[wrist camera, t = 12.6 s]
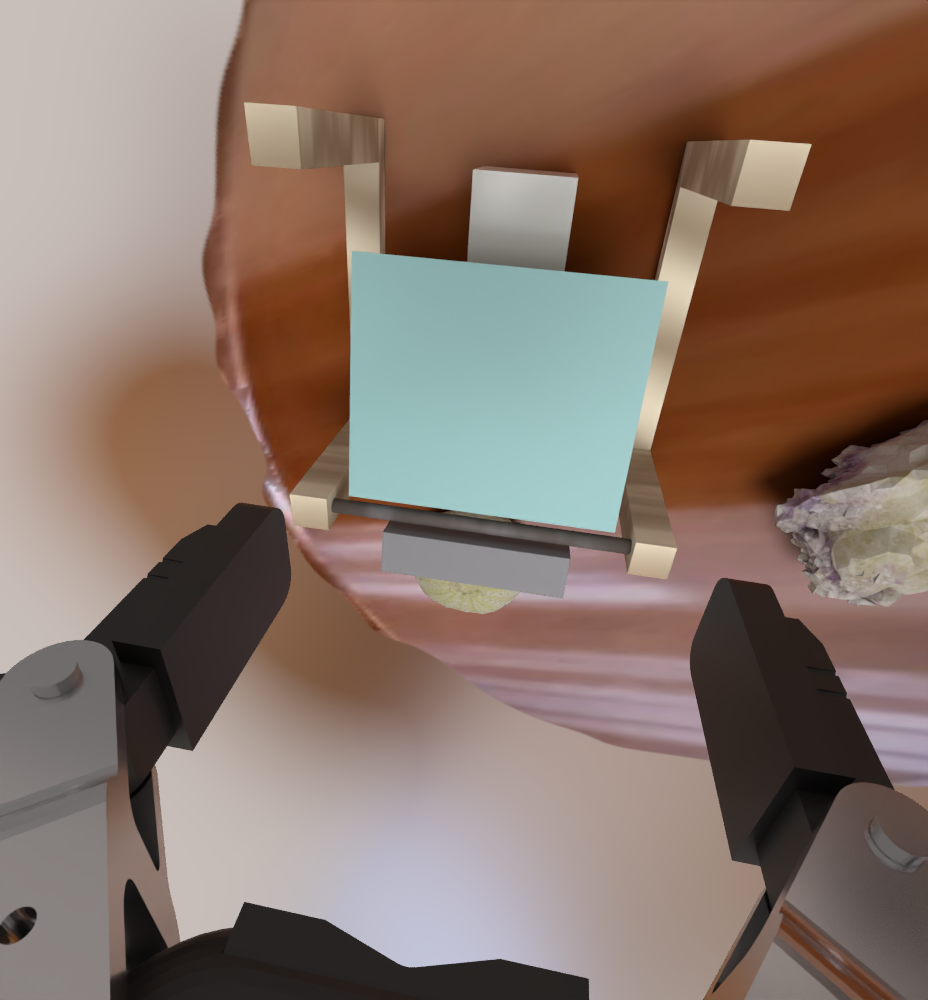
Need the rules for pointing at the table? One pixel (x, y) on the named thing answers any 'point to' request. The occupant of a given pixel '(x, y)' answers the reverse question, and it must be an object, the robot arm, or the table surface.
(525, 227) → the grey cube
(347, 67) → the table surface
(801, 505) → the geode
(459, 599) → the sea urchin shell
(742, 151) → the frame
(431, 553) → the trapdoor
